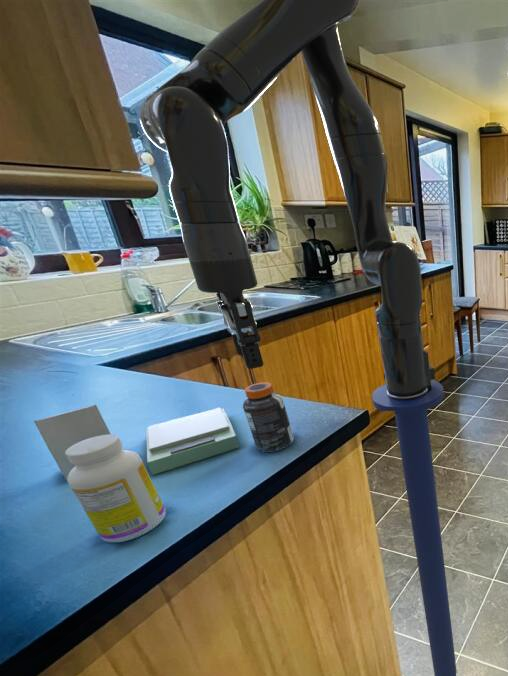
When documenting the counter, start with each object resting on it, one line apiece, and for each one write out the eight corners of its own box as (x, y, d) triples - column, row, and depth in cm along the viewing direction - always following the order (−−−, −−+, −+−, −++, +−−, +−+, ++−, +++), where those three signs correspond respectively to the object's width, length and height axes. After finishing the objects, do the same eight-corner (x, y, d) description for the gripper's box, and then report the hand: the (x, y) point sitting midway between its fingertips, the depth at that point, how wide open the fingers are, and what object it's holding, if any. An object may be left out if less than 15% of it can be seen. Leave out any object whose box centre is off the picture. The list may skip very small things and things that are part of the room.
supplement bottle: (140, 506, 57) (101, 427, 51) (180, 511, 56) (144, 431, 50) (87, 542, 51) (36, 457, 45) (130, 548, 50) (83, 462, 44)
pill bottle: (300, 435, 74) (285, 379, 69) (283, 453, 69) (265, 393, 64) (268, 435, 74) (251, 379, 69) (249, 453, 69) (229, 393, 64)
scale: (227, 418, 80) (223, 405, 79) (240, 447, 70) (235, 432, 69) (150, 440, 73) (144, 426, 72) (152, 475, 63) (145, 459, 62)
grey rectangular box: (123, 461, 67) (98, 408, 63) (66, 481, 62) (34, 425, 58) (119, 453, 69) (94, 401, 65) (64, 472, 64) (33, 417, 60)
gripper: (259, 257, 56) (286, 366, 62) (241, 251, 66) (266, 345, 72) (193, 262, 51) (230, 379, 58) (184, 254, 61) (216, 354, 68)
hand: (250, 360), depth 65 cm, fingers open, 8 cm apart
